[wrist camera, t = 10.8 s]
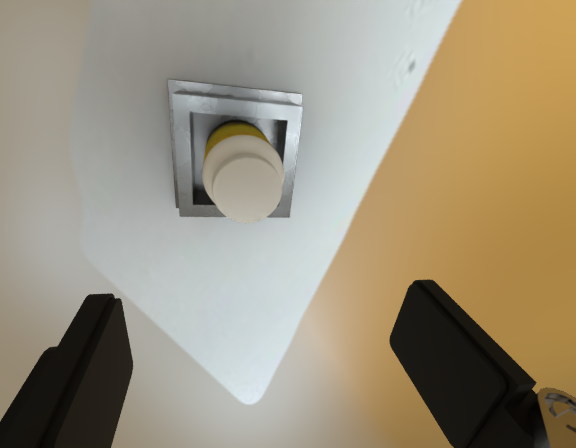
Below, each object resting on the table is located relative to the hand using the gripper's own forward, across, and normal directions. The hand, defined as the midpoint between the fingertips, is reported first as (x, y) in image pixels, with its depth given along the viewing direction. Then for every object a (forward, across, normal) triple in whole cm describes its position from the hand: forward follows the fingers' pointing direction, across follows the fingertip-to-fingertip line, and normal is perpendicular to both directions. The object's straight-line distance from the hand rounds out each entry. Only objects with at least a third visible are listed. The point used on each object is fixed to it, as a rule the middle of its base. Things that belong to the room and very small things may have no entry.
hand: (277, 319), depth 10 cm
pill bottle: (+23, 0, 0) cm, 23 cm away
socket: (+23, 0, 0) cm, 23 cm away
